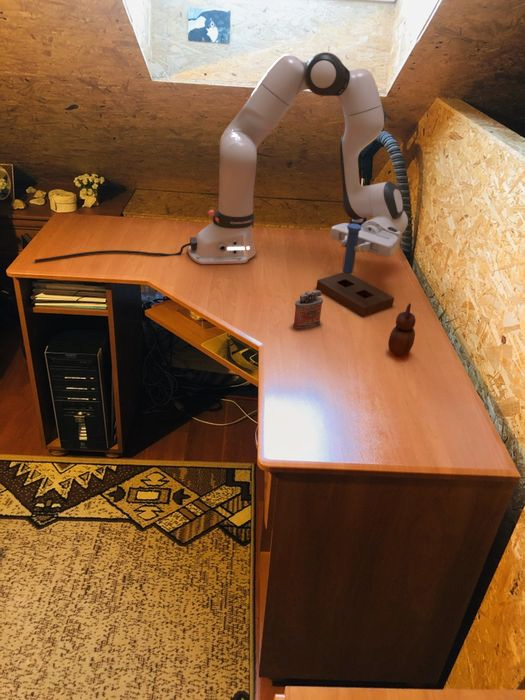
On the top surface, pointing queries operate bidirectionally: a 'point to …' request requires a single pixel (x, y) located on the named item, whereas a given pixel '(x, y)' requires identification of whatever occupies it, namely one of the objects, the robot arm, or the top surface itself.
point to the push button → (357, 221)
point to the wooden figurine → (402, 334)
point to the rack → (355, 293)
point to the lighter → (308, 310)
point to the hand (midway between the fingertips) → (349, 246)
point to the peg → (351, 247)
